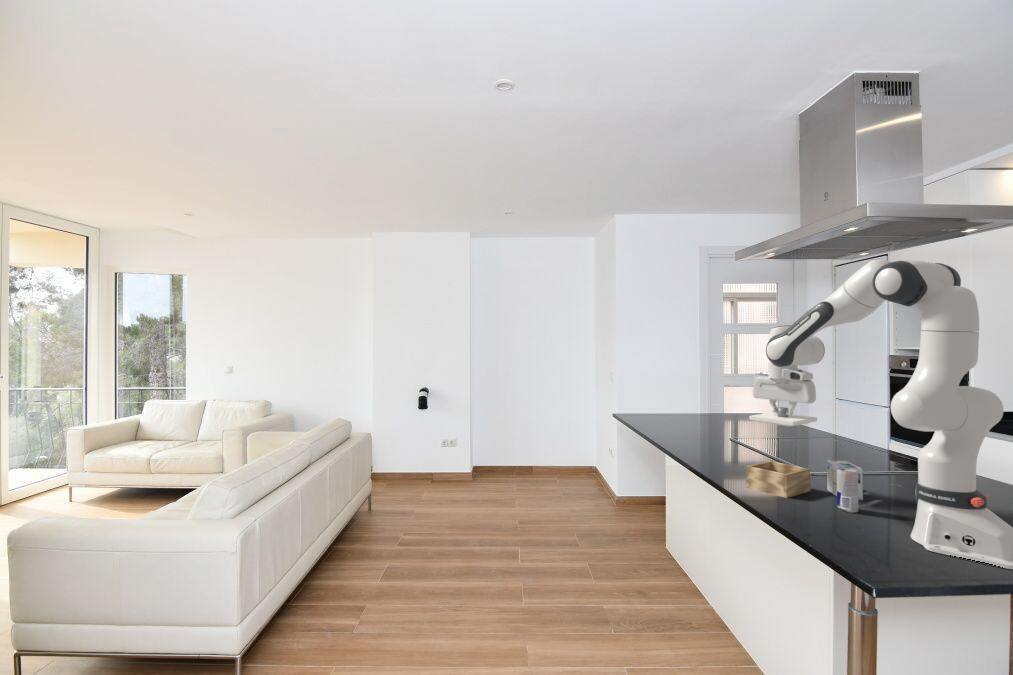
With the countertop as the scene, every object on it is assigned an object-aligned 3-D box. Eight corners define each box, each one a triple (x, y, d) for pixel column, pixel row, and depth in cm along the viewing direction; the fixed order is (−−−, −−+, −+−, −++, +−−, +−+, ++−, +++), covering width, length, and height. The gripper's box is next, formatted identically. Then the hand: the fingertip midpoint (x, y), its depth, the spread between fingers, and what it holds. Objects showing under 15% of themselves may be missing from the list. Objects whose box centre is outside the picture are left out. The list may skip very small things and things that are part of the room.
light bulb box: (863, 502, 163) (863, 468, 163) (839, 501, 164) (839, 467, 164) (848, 492, 173) (848, 460, 173) (826, 491, 175) (825, 459, 175)
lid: (817, 423, 176) (817, 408, 176) (792, 427, 168) (792, 412, 168) (773, 417, 189) (773, 403, 189) (749, 421, 180) (749, 407, 180)
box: (810, 493, 173) (810, 469, 173) (786, 500, 165) (786, 475, 166) (769, 483, 185) (769, 460, 185) (745, 489, 177) (745, 466, 177)
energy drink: (845, 506, 159) (844, 466, 159) (862, 511, 154) (862, 471, 154) (832, 508, 157) (832, 468, 158) (850, 514, 152) (849, 472, 153)
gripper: (748, 372, 185) (748, 411, 185) (808, 375, 168) (808, 418, 168) (759, 371, 189) (759, 409, 189) (818, 374, 171) (818, 417, 171)
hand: (782, 414), depth 178 cm, fingers closed on lid, 3 cm apart
